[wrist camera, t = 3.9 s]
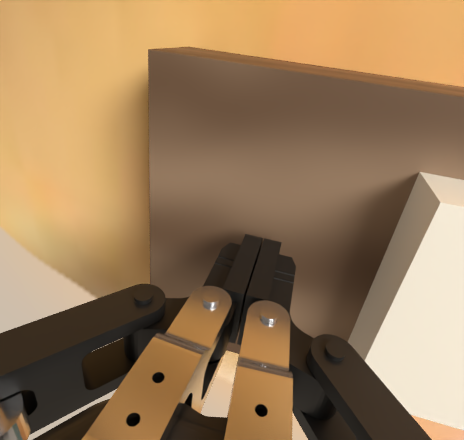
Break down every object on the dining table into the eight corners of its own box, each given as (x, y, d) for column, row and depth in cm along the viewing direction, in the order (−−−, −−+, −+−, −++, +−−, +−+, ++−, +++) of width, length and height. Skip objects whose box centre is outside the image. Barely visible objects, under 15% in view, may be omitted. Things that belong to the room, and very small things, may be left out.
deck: (188, 47, 15) (148, 49, 12) (713, 123, 12) (865, 158, 9) (178, 283, 22) (150, 327, 19) (508, 371, 19) (548, 443, 16)
